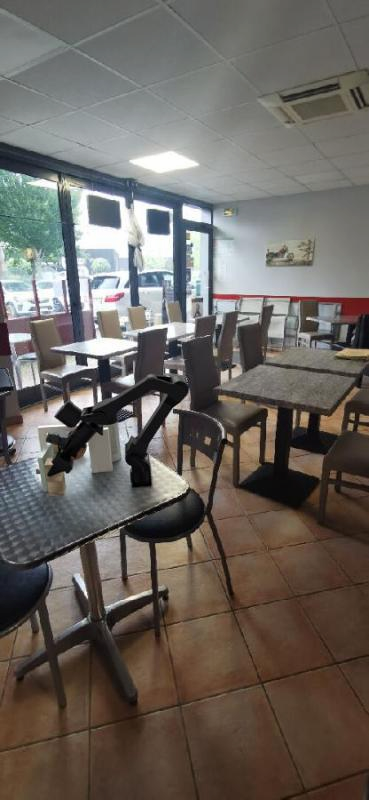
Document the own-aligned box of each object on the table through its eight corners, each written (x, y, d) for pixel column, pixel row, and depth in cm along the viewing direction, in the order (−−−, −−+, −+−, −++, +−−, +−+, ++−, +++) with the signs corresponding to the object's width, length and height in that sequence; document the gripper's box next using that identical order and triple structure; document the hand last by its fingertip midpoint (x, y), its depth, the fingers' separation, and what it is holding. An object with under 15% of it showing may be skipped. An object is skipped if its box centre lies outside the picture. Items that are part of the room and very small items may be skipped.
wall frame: (112, 468, 142) (107, 421, 136) (112, 471, 140) (106, 424, 134) (47, 472, 141) (39, 425, 135) (45, 476, 139) (37, 428, 133)
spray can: (125, 456, 150) (120, 407, 144) (113, 464, 145) (107, 413, 139) (111, 453, 154) (106, 404, 147) (99, 460, 148) (93, 410, 142)
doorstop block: (66, 486, 131) (61, 456, 128) (63, 494, 127) (59, 463, 123) (52, 487, 131) (47, 457, 127) (49, 496, 126) (44, 465, 123)
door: (47, 491, 128) (42, 457, 124) (38, 491, 128) (32, 458, 124) (57, 472, 139) (52, 441, 136) (48, 473, 139) (43, 442, 135)
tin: (51, 468, 144) (47, 447, 141) (47, 466, 146) (44, 445, 143) (88, 455, 153) (85, 435, 150) (84, 452, 155) (81, 432, 153)
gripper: (64, 410, 130) (35, 444, 133) (54, 432, 113) (20, 470, 115) (91, 430, 134) (62, 462, 136) (85, 454, 116) (52, 491, 118)
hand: (50, 470), depth 126 cm, fingers open, 6 cm apart
